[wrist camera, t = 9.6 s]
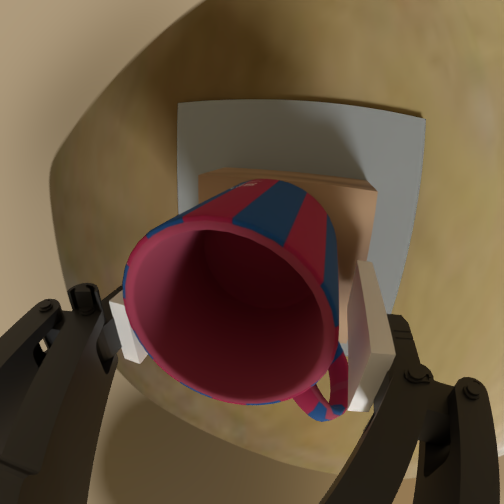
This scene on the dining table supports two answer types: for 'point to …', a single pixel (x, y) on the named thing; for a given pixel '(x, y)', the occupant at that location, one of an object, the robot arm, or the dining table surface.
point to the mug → (244, 298)
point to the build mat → (314, 159)
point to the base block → (334, 203)
